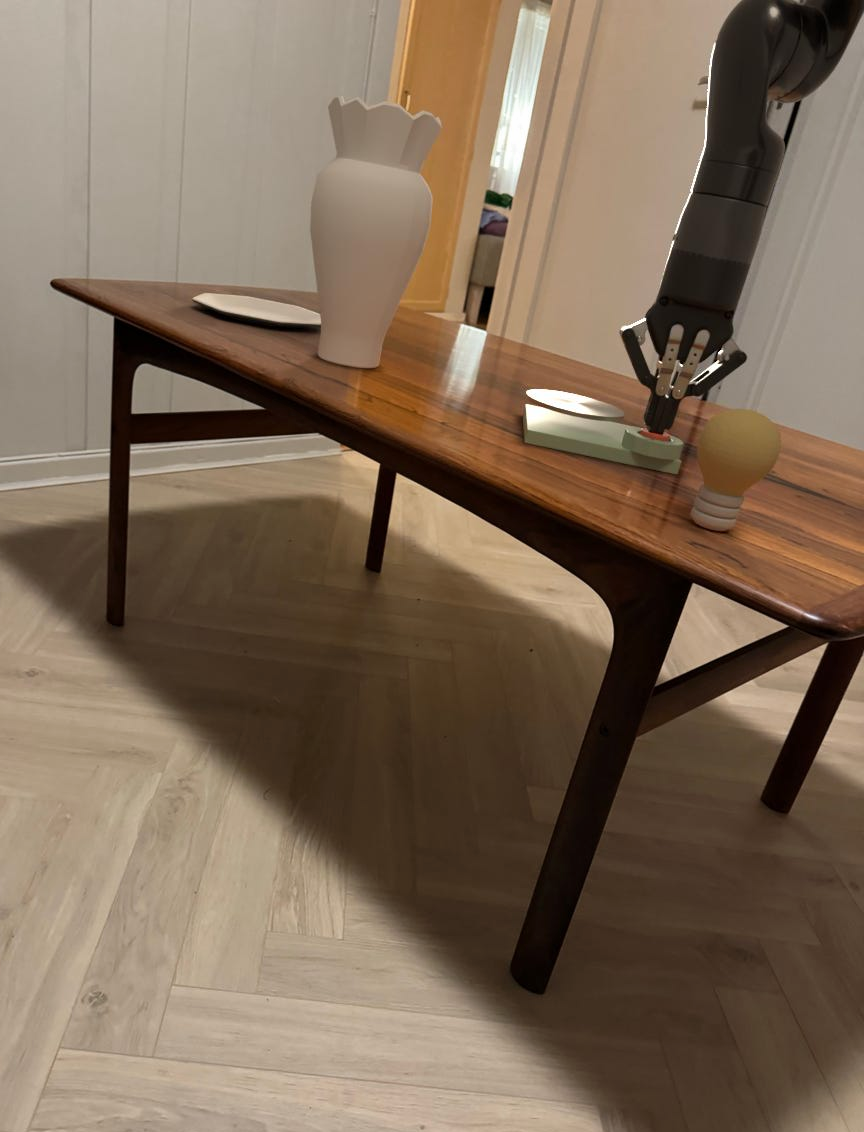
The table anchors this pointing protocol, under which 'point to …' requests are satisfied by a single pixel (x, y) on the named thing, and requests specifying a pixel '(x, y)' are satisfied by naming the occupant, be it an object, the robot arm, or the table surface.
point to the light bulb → (732, 464)
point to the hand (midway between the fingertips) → (654, 431)
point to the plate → (259, 310)
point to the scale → (600, 440)
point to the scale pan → (575, 405)
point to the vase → (369, 224)
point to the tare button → (655, 435)
